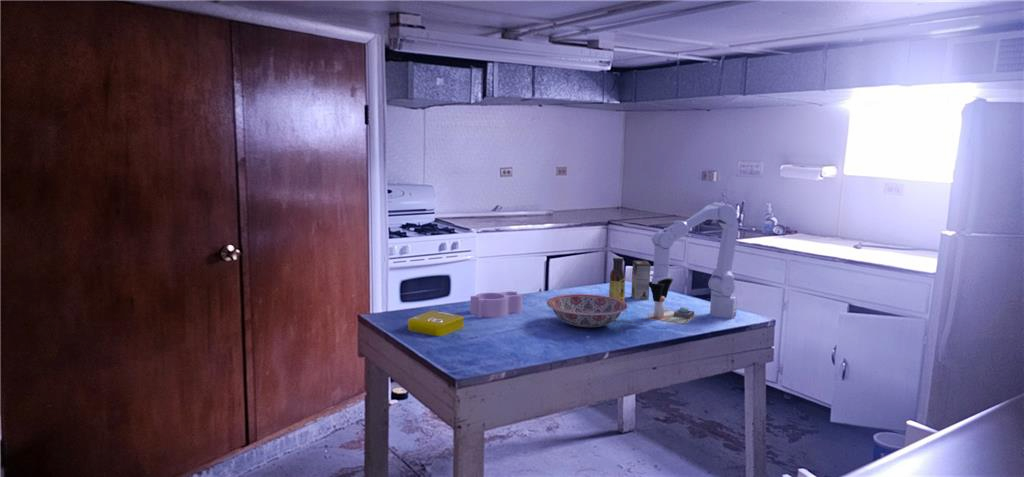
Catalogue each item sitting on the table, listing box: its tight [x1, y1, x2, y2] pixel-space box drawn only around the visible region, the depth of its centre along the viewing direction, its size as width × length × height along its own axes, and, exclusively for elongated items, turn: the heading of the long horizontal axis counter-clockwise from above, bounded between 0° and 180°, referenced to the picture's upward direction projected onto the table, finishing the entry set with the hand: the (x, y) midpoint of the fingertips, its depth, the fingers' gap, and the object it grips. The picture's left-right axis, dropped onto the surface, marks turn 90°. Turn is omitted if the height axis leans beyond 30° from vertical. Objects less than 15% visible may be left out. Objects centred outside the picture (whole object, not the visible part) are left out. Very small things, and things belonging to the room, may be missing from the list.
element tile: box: [407, 310, 465, 337], centre depth 233 cm, size 15×15×5 cm
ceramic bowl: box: [546, 293, 628, 328], centre depth 240 cm, size 29×29×8 cm
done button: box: [679, 306, 690, 314], centre depth 251 cm, size 3×3×2 cm
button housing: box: [674, 308, 695, 319], centre depth 251 cm, size 6×6×2 cm
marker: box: [653, 296, 666, 319], centre depth 248 cm, size 4×4×8 cm
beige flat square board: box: [645, 309, 698, 326], centre depth 250 cm, size 15×16×1 cm
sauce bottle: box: [608, 256, 626, 302], centre depth 268 cm, size 6×6×20 cm
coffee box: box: [630, 260, 652, 301], centre depth 280 cm, size 9×6×16 cm
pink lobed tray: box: [469, 290, 523, 319], centre depth 255 cm, size 20×12×7 cm, turn 121°
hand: (660, 299), depth 247 cm, fingers open, 7 cm apart
